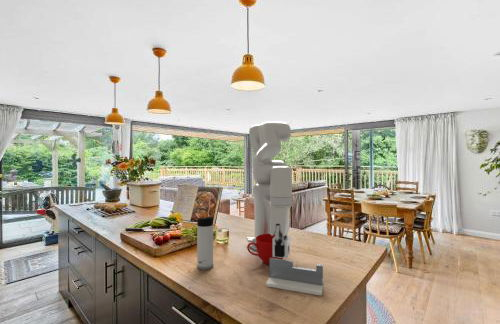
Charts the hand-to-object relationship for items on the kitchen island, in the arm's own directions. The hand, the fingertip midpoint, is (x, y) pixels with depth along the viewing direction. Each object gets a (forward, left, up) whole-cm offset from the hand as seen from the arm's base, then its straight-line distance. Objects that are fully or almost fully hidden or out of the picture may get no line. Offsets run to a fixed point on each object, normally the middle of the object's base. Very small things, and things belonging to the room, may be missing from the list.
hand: (281, 253), depth 88 cm
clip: (0, 0, -1) cm, 1 cm away
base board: (+5, 0, -10) cm, 11 cm away
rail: (+5, 0, -10) cm, 11 cm away
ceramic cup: (-9, +14, -10) cm, 20 cm away
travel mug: (-31, +2, -10) cm, 33 cm away
